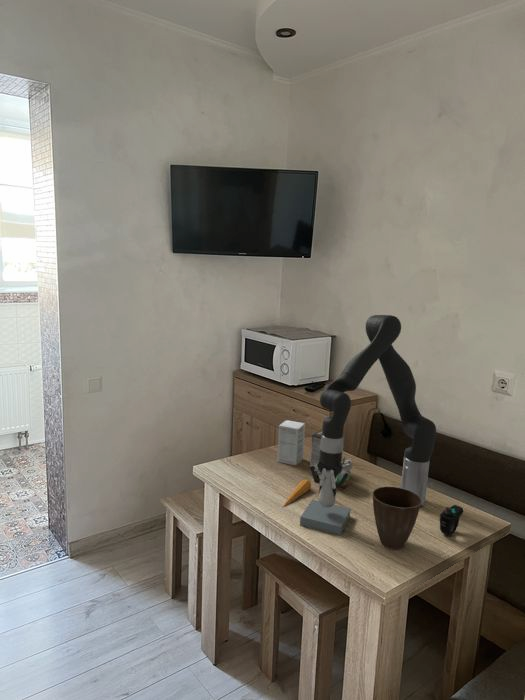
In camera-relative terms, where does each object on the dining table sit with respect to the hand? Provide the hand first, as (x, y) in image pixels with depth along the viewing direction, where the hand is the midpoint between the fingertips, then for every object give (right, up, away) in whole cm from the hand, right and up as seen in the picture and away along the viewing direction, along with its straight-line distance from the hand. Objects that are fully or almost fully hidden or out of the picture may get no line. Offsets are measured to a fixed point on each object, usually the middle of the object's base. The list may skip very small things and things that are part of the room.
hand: (327, 496), depth 174 cm
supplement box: (-10, +1, +53) cm, 54 cm away
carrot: (-10, -6, +18) cm, 21 cm away
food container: (+10, -5, +29) cm, 31 cm away
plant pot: (+19, -12, -10) cm, 25 cm away
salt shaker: (0, -3, +1) cm, 3 cm away
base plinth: (-1, -9, +1) cm, 9 cm away
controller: (+41, -12, -2) cm, 43 cm away
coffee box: (+3, -2, +45) cm, 45 cm away
